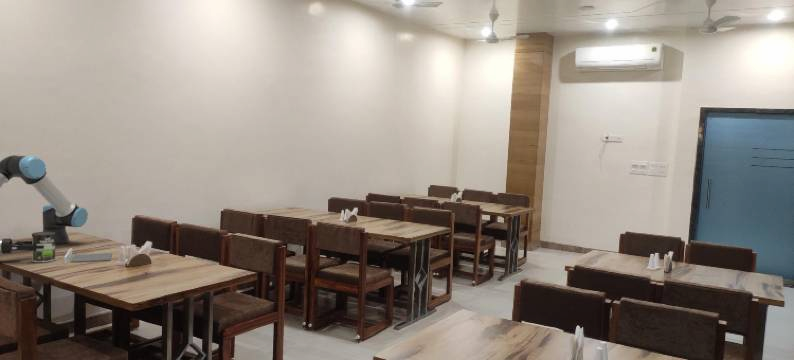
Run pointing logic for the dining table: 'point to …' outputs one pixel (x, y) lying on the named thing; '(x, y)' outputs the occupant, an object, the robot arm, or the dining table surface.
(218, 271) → the dining table surface
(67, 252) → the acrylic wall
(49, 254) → the coffee can
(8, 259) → the dining table surface
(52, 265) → the dining table surface
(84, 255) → the mat
